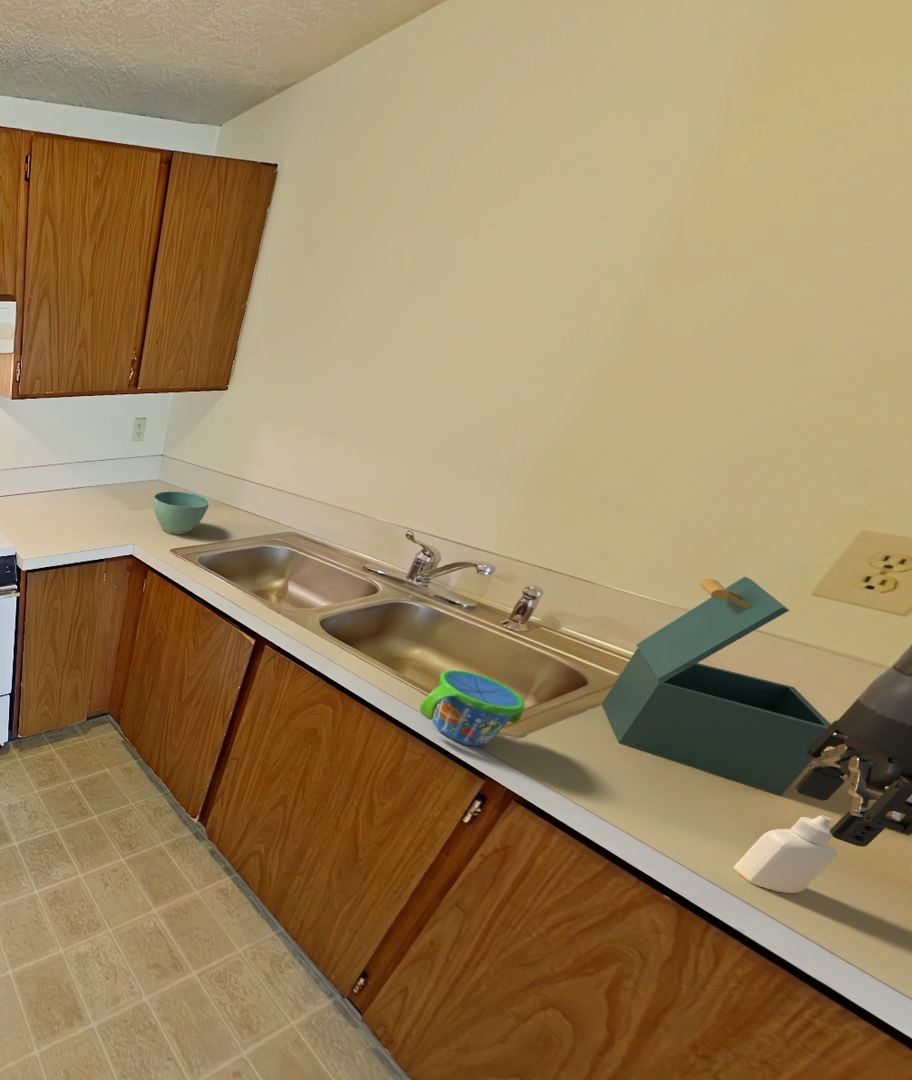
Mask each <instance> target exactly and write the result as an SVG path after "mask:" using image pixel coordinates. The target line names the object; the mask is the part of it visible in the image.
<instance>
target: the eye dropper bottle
mask: <svg viewBox="0 0 912 1080" xmlns="http://www.w3.org/2000/svg"><path fill="white" fill-rule="evenodd" d="M831 821H832V818H831V817H829V816H827V815H825V814H824V815H823V814H819V816H817V817H814V818H812V817H807V816H800V818H798V820H797V821H796V822H795V823H794V824H793V825H792V826H791V827H790V828H776V829H771V830H768V831H766V832H765V833H763V834H762V835H761V836H760V837H759V838H758V839H757V840H756V841H755V842H754V844H753V845H752V846H750V848H749V849H748V850H747V851H746V852H745V853H744V854H743V856H742V857H741V858H740V859H739V860H738V861H737V862H736V863H735V864H734V866H733V870H735V872H737V873H738V874H739V875H740V876H741V877H743V878H744V879H745V880H747V881H748V882H749V883H751V884H753V885H755V886H757V887H761V888H763V887H764V889H767V890H770V889H771V891H774V892H779V893H784V894H797V893H801V892H803V891H804V890H805V889H806V888H807V887H808V886H810V884H811V883H812V882H813V881H814V880H816V879H817V877H818V876H819V875H820V874H821V873H822V872H823V871H824V870H825V869H826V868H827V867H828V866H829V865H830V864H831V863H832V862H833V861H834V860H835V859H836V858H837V856H838V851H837V850H836V848H835V847H833V846H832V845H831V844H829V842H830V841H831V840H832V839H833V838H834V837H833V836H832V834H831V833H830V829H831V828H832V826H830V824H831Z"/></svg>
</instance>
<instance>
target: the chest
mask: <svg viewBox="0 0 912 1080" xmlns="http://www.w3.org/2000/svg"><path fill="white" fill-rule="evenodd" d="M601 706H602V708H603V710H604V711H603V712H604V713H605V715H606V718H607V720H608V722H609V725H610V727H611V729H612V732H613V733H614V736H615V738H616V741H617V743H618V744H621V745H624V746H627V747H630V748H634V749H636V750H639V751H643V752H645V753H649V754H652V755H654V756H657V757H661V758H664V759H667V760H670V761H673V762H676V763H679V764H682V765H686V766H688V767H691V768H695V769H698V770H700V771H704V772H707V773H711V774H712V775H716V776H719V777H721V778H724V779H729V780H731V781H734V782H736V783H741V784H744V785H746V786H749V787H752V788H755V789H759V790H762V791H764V792H768V793H771V794H774V795H776V796H777V795H778V796H779V797H780V796H782V795H783V794H784V793H785V792H786V791H787V789H789V787H790V786H791V785H792V784H793V782H795V781H796V780H797V778H798V777H799V776H800V775H801V774H802V773H803V772H804V770H805V769H806V768H807V767H808V766H809V765H810V761H811V760H812V759H814V758H813V757H810V756H807V755H806V750H807V749H808V748H809V747H810V746H811V745H812V744H813V743H814V742H815V741H816V740H817V739H818V738H819V736H820V735H821V734H822V733H823V732H824V731H825V730H826V729H827V728H828V727H829V726H830V725H831V724H832V723H830V721H828V720H827V719H826V718H825V717H824V716H823V714H821V713H820V712H819V710H817V709H816V708H815V706H814V705H812V703H810V701H808V700H807V698H805V696H804V695H802V694H801V693H800V692H799V691H798V690H797V689H796V687H794V686H791V685H787V684H783V683H779V682H775V681H771V680H767V679H764V678H758V677H755V676H751V675H746V674H743V673H740V672H739V673H738V672H735V671H731V670H727V669H723V668H718V667H714V666H711V665H706V664H702V663H700V662H698V663H696V664H695V665H693V666H691V667H689V668H688V669H686V670H684V671H682V672H681V673H679V674H677V675H675V676H674V677H672V678H670V679H668V680H667V681H665V682H662V681H660V680H658V679H657V677H656V676H655V674H654V673H653V671H652V669H651V668H650V666H649V665H648V663H647V661H646V660H645V658H644V657H643V655H642V653H641V652H640V650H639V649H638V647H637V648H636V650H635V651H634V653H633V654H632V656H631V657H630V659H629V661H628V662H627V664H626V665H625V667H624V668H623V670H622V671H621V673H620V674H619V676H618V677H617V679H616V681H615V683H614V684H613V686H612V687H611V689H610V691H609V692H608V693H607V695H606V697H605V698H604V700H603V701H602V703H601Z"/></svg>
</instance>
